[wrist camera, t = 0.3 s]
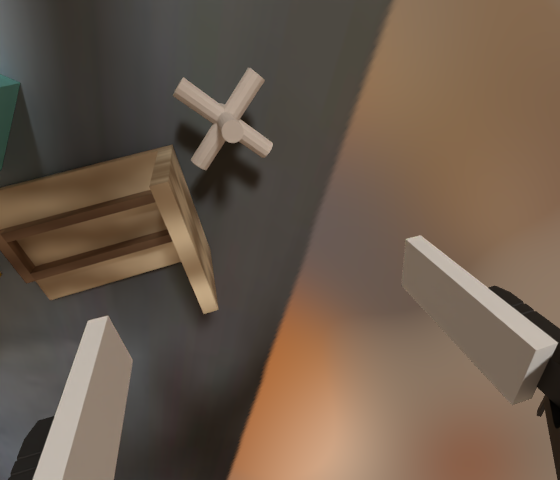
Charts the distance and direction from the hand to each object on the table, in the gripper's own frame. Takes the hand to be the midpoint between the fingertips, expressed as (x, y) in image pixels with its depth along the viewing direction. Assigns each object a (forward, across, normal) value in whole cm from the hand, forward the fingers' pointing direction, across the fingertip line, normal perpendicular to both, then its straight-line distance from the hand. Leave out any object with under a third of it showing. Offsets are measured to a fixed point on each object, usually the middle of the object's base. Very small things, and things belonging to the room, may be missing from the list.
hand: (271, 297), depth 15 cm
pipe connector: (+27, +1, +4) cm, 27 cm away
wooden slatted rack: (+27, -14, -6) cm, 31 cm away
